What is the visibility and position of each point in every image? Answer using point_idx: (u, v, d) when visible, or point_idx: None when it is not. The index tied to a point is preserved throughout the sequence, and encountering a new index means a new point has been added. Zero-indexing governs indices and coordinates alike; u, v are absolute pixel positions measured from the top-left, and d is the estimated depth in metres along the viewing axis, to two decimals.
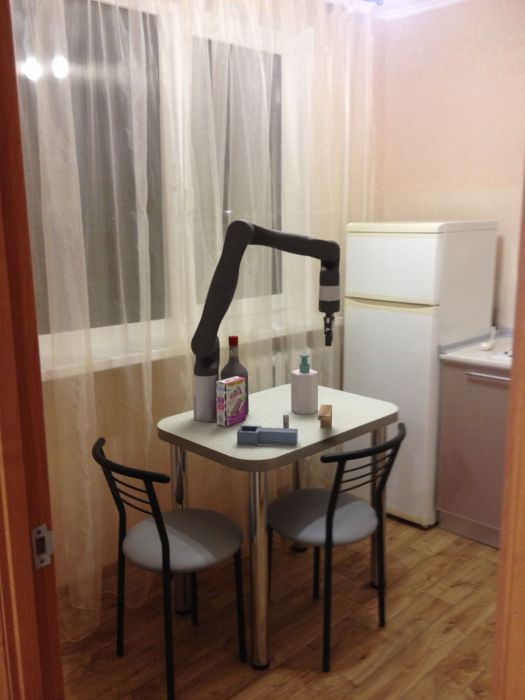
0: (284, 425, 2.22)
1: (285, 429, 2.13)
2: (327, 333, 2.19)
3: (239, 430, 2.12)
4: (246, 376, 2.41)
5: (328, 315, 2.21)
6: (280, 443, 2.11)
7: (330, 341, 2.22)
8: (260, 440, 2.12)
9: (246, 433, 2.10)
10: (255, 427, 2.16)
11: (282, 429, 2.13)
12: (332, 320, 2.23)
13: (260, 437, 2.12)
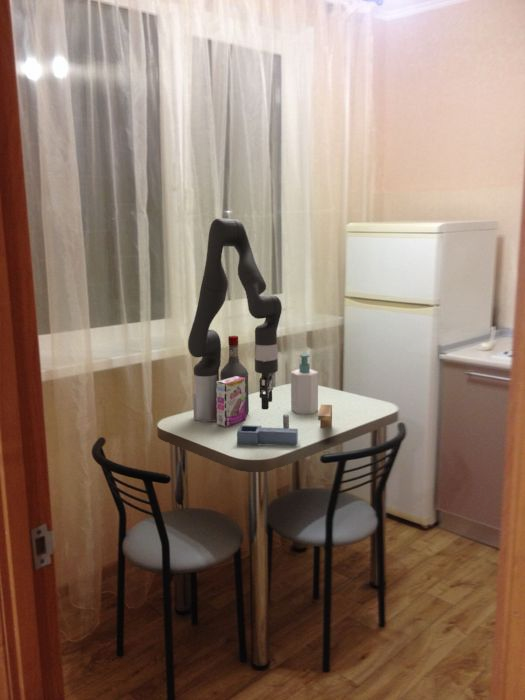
0: (284, 425, 2.22)
1: (285, 429, 2.13)
2: (263, 396, 2.03)
3: (239, 430, 2.12)
4: (246, 376, 2.41)
5: (264, 376, 2.05)
6: (280, 443, 2.11)
7: (267, 404, 2.06)
8: (260, 440, 2.12)
9: (246, 433, 2.10)
10: (255, 427, 2.16)
11: (282, 429, 2.13)
12: (269, 381, 2.07)
13: (260, 437, 2.12)
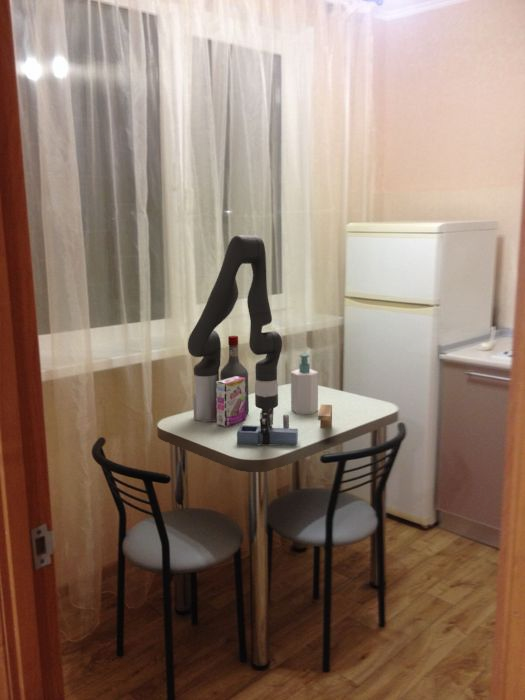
0: (284, 425, 2.22)
1: (285, 429, 2.13)
2: (264, 433, 2.08)
3: (239, 430, 2.12)
4: (246, 376, 2.41)
5: (264, 411, 2.08)
6: (280, 443, 2.11)
7: (268, 439, 2.11)
8: (260, 440, 2.12)
9: (246, 433, 2.10)
10: (255, 427, 2.16)
11: (282, 429, 2.13)
12: (269, 417, 2.10)
13: (260, 437, 2.12)
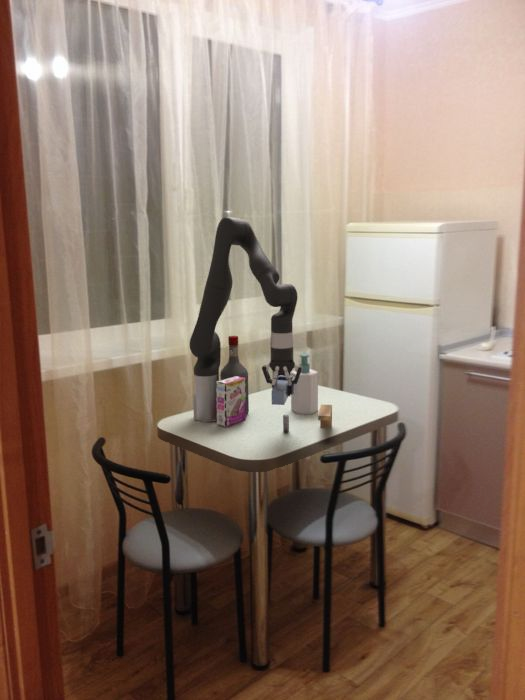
0: (284, 425, 2.22)
1: (282, 387, 2.07)
2: None
3: (280, 376, 2.22)
4: (246, 376, 2.41)
5: None
6: None
7: None
8: None
9: None
10: None
11: (282, 387, 2.08)
12: None
13: None
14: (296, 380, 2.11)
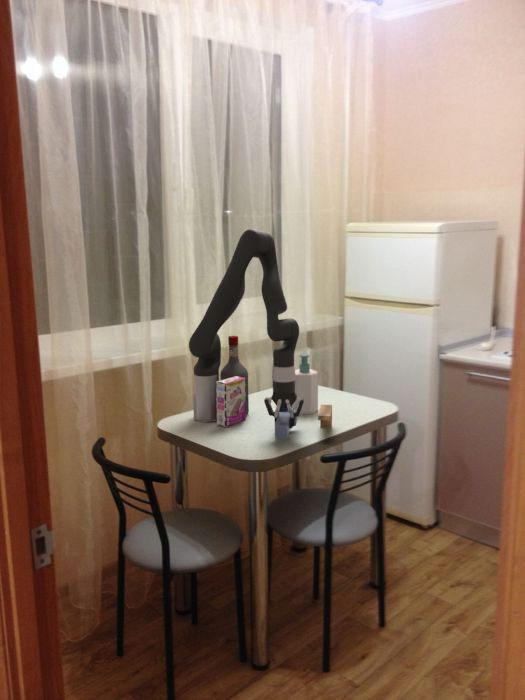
0: None
1: (284, 421, 2.10)
2: None
3: None
4: (246, 376, 2.41)
5: None
6: None
7: None
8: None
9: None
10: None
11: (284, 420, 2.11)
12: (277, 402, 2.14)
13: None
14: (298, 413, 2.14)
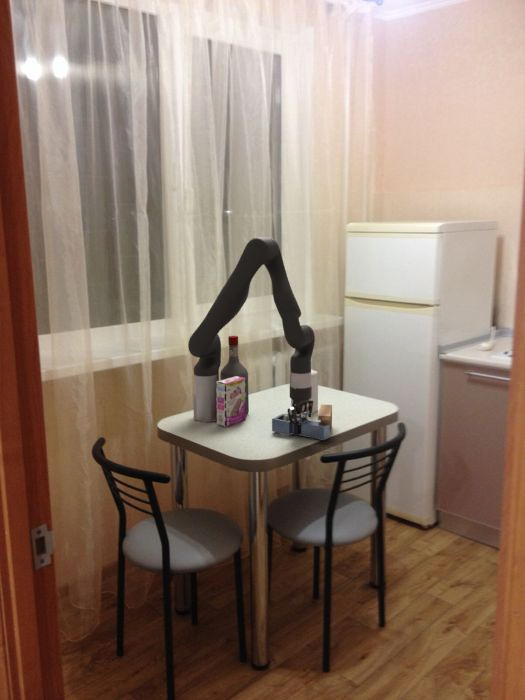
0: None
1: (317, 423, 2.17)
2: (292, 423, 2.15)
3: (275, 418, 2.23)
4: (246, 376, 2.41)
5: (295, 402, 2.15)
6: (309, 435, 2.16)
7: (298, 430, 2.17)
8: (293, 430, 2.19)
9: (279, 421, 2.20)
10: None
11: (314, 422, 2.17)
12: (300, 408, 2.16)
13: (293, 427, 2.19)
14: (310, 413, 2.22)
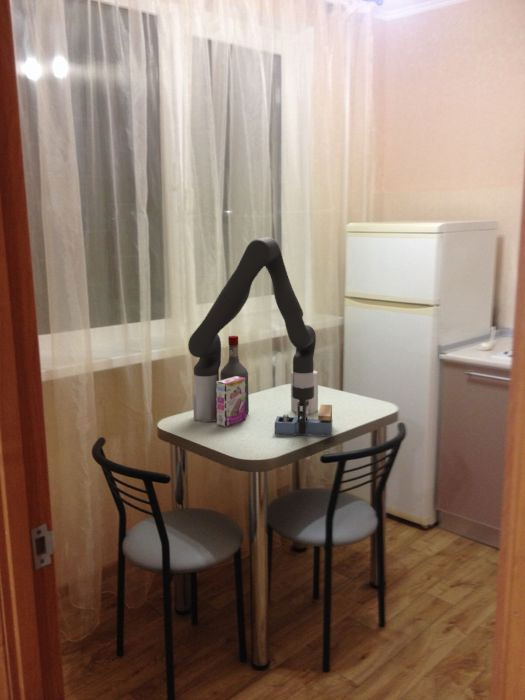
0: None
1: (320, 420, 2.22)
2: (300, 421, 2.15)
3: (276, 421, 2.21)
4: (246, 376, 2.41)
5: (302, 402, 2.17)
6: (316, 433, 2.20)
7: (304, 428, 2.17)
8: (296, 430, 2.21)
9: (283, 424, 2.19)
10: (291, 418, 2.25)
11: (317, 420, 2.22)
12: (306, 407, 2.18)
13: (297, 427, 2.21)
14: None
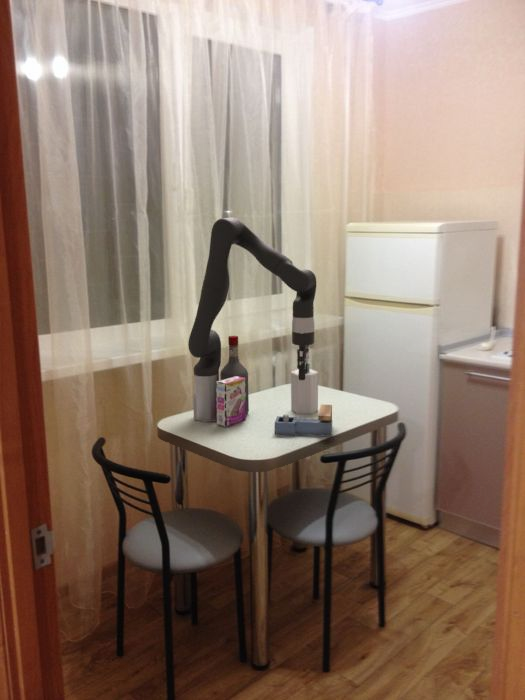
0: None
1: (320, 420, 2.22)
2: (300, 367, 2.11)
3: (276, 421, 2.21)
4: (246, 376, 2.41)
5: (302, 348, 2.13)
6: (316, 433, 2.20)
7: (304, 375, 2.13)
8: (296, 430, 2.21)
9: (283, 424, 2.19)
10: (291, 418, 2.25)
11: (317, 420, 2.22)
12: (306, 353, 2.14)
13: (297, 427, 2.21)
14: None
